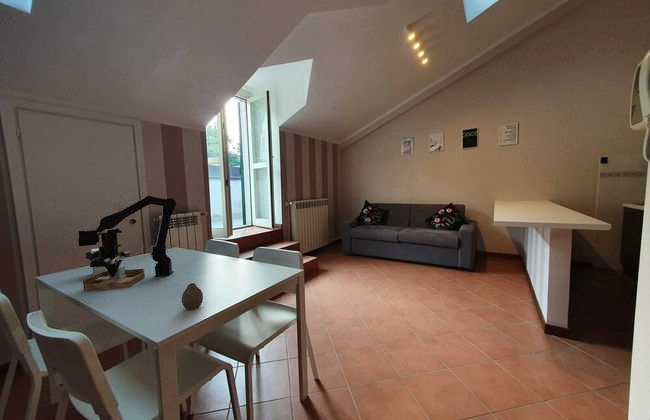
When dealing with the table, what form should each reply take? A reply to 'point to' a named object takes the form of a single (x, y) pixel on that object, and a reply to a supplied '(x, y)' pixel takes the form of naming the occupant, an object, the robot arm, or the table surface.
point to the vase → (192, 297)
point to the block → (119, 272)
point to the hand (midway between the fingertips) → (112, 276)
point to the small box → (97, 269)
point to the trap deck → (113, 280)
